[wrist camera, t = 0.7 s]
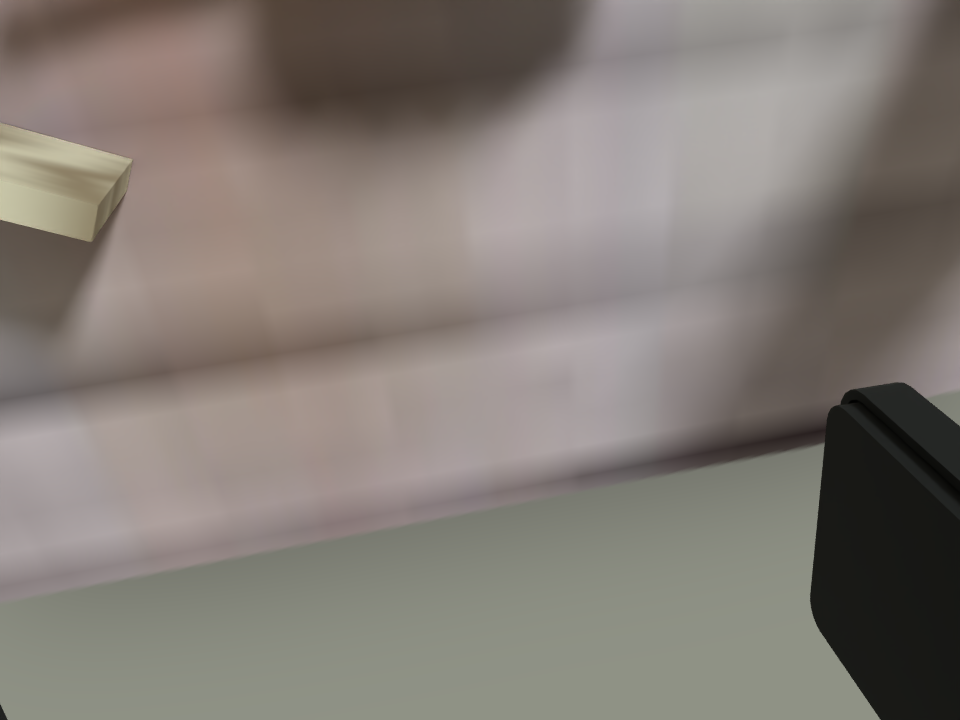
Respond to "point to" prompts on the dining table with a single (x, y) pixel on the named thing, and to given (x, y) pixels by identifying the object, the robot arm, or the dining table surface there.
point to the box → (58, 183)
